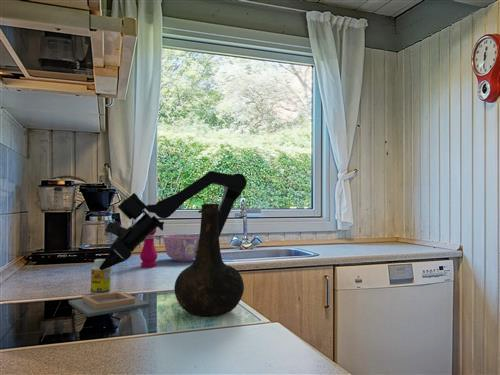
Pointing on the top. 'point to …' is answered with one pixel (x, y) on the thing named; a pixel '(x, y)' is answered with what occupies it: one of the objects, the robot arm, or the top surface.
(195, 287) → the dark brown vase
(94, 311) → the dock
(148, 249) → the pepper mill
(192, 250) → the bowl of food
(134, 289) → the top surface
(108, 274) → the supplement bottle
